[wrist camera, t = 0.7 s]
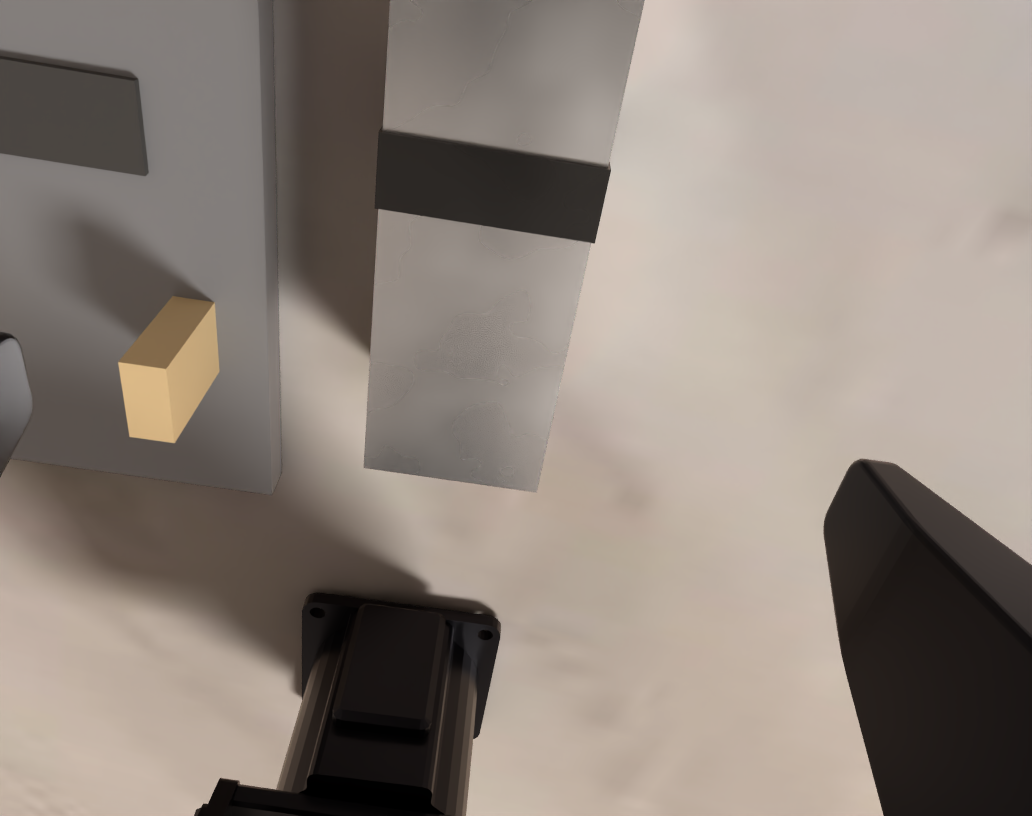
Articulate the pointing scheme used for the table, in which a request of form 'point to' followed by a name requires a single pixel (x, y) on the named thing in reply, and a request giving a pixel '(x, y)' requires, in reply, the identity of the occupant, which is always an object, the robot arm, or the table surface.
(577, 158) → the air duct
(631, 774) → the table surface
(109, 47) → the plate
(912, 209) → the table surface
